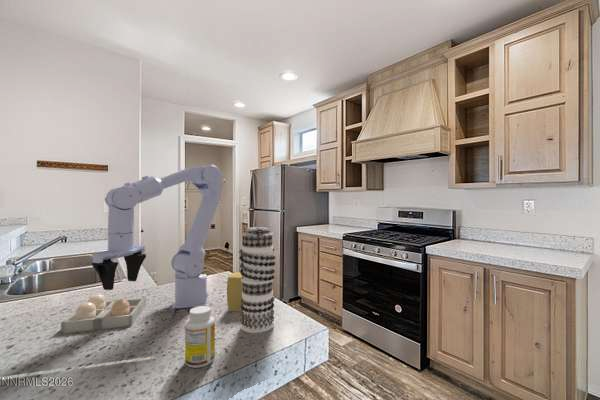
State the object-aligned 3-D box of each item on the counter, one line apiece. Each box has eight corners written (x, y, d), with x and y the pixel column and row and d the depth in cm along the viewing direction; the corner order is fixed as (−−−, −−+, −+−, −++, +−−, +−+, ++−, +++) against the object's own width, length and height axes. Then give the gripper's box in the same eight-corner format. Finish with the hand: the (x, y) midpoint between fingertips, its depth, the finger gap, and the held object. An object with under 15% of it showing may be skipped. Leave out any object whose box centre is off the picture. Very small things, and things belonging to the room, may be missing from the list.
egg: (120, 317, 74) (120, 296, 74) (133, 318, 74) (133, 297, 74) (107, 324, 70) (107, 301, 70) (120, 325, 70) (120, 303, 70)
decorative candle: (238, 319, 74) (238, 226, 75) (272, 316, 77) (272, 226, 77) (239, 335, 65) (239, 229, 66) (278, 331, 68) (278, 229, 68)
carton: (145, 307, 83) (145, 297, 83) (131, 327, 69) (131, 315, 70) (87, 313, 78) (87, 302, 78) (61, 335, 65) (61, 322, 65)
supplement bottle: (205, 350, 59) (205, 302, 59) (220, 360, 55) (220, 308, 55) (179, 362, 55) (179, 310, 55) (194, 373, 51) (194, 317, 51)
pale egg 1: (98, 320, 72) (98, 299, 72) (91, 327, 68) (91, 304, 69) (80, 322, 71) (80, 300, 71) (72, 329, 67) (72, 306, 67)
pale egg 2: (108, 311, 78) (108, 291, 79) (102, 317, 75) (102, 296, 75) (91, 313, 77) (91, 292, 77) (84, 318, 74) (85, 297, 74)
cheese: (234, 299, 90) (235, 268, 90) (267, 299, 90) (268, 268, 90) (226, 312, 80) (226, 277, 80) (263, 312, 80) (263, 277, 80)
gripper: (110, 236, 64) (110, 295, 64) (154, 230, 79) (153, 278, 79) (85, 235, 66) (84, 293, 66) (132, 230, 80) (132, 277, 80)
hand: (120, 285), depth 72 cm, fingers open, 7 cm apart
